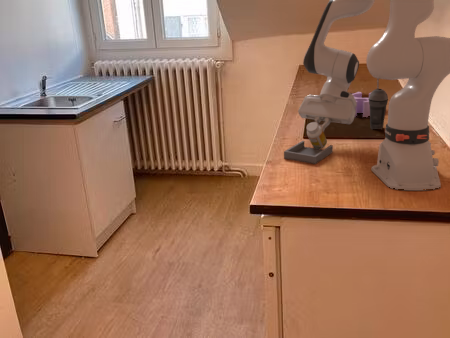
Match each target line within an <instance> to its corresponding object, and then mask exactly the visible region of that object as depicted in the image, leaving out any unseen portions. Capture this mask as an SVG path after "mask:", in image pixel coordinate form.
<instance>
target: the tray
mask: <svg viewBox="0 0 450 338" xmlns="http://www.w3.org/2000/svg"><path fill="white" fill-rule="evenodd" d="M333 148H334V146H333V145H332V144H330V145H329V146H327V147H324V148H322V149H316V148H314V147H309V146H305V140H302V141H300V142H298V143H296V144H295V145H292V146H291V147H289V148H288V149H285V150H284V151H283V159H287V160H291V161H297V162H302V163H308V164H313V165H317V164H318V163H319V162H320V161H322V160H324V159H325V158H326V157H328V156H330V154H332V153H333V152H334V151H333Z"/></svg>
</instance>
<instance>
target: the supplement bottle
mask: <svg viewBox="0 0 450 338" xmlns="http://www.w3.org/2000/svg"><path fill="white" fill-rule="evenodd" d="M306 136H307V138H308V139H309V141H310V144H311V146H312V148H316V149H322V150H323V149H324V148H326V147H325V146H326V145H327V144H328V141H327V138H326V134H325V132H323V130H322V128H321V127H320V126H318V124H317V123H316V122H315V121H312V122H310V123H308V124H307V125H306Z"/></svg>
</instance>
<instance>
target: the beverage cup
mask: <svg viewBox="0 0 450 338" xmlns="http://www.w3.org/2000/svg"><path fill="white" fill-rule="evenodd" d="M376 80H377V81H376V83H377V85H376V89H374V90H372V91H371V92H370V93H371V94H370V96H369V95H368V98H369V99H368V100H369V105H370V117H369V124H370V129H371V130H373V129H381V130H383V129H382V128H383V126H384V123H385V118H386V117H385V116H386V111H387V105H388V103H389V102H388V101H389V96H388V93H387V92H386V90H384V89H381V88H379V86H380V85H379V78H376Z"/></svg>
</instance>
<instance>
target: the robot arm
mask: <svg viewBox="0 0 450 338" xmlns="http://www.w3.org/2000/svg"><path fill="white" fill-rule="evenodd" d="M375 1H376V0H329V1H328V3H327V4H326V6H325V7H324V10H323V12H322V15H321V18H320V19H319V22H318V25H317V27H316V30H315V32H314V34H313V37H312V38H311V42H310V44H309V47H308V48H307V50H306V52H305V54H304V55H303V61H302V64H303V66H304V68H305V70H306V71H307V72H308V73H309V74H315V75H322V76H324V77H326V81H324V84H323V85H322V88H321V90H320V93H319V94H309V95H307V96H304V97H303V101H302V103H300V106H299V108H298V110H297V113H298V115H299V116H300V118H302V119H309V120H314V122H316V123H317V124H318V126H320V127H321V128H322V130H323V133H325V130H326V128H327V127H329V125H331V123H338V124H346V125H351V124H352V123H353V122H354V119H355V117H354V116H355V112H356V110H355V107H356V105H357V103H356V100H355V98H354V96H353V95H352V94H353V93H351V92H348V91H347V89H348V87H349V88H350V85H351V84H352V82H353V81H354V80H355V78H356V75H357V73H358V71H359V67H360V61H359V59H358V57H357V55H356V54H355V53H353V52H351V51H347V50H343V49H337V48H334V47H329V46H327V45H325V41H326V39H327V38H328V35H329V32H330V30H331V28H332V25H333V23H334V22H336V21H338V20H340V19H344V18H353V17H357V16H360V15H363V14H364V13H366V12H368V11H369V10H371V8H372V7H373V6H374V4H375ZM434 8H435V3H434V0H389V17H388V21H387V25H386V27H385V30H384V32H383V33H382V35H381V36H380V38H379V39H378V40H377V41H376V42H374V44H372V46H371V47H370V49H369V50H368V52H367V55H366V60H365V61H366V67H367V70H368V72H369V74H370V75H371V76H372V77H373V78H374V79H377V78H379V79H380V80H388V81H396V80H407V79H408V80H407V82H406V84H405V85H404V86H403V87H402V88H401V89H399V90H398V91H396V92H394V94H393V95H392V96H391V98H389V100H388V101H389V102H388V113H387V122H386V124H385V128H384V136H385V138H384V139H383V140H382V141H381V142H380V143H379V146H378V151H377V152H378V153H377V163H376V164H374V165H372V166H371V171H372V172H373V174H374V175H375V176H377V178H378V179H380V181H382V182H383V183H384V184H385V185H386V186H387V187H388V188H389V187H390V189H393V188H395V189H394V190H398V189H404V190H403V191H427V190H426V189H433V190H436V189H435V188H438V189H440V188H441V185H442V183H441V179H440V177H439V173H438V169H437V167H438V166H439V161H440V160H439V158H438V157H434V158H433V156H434V155H436V154H435V152H436V151H435V150H433V149H432V142H431V141H430V133H431V131H430V126H429V118H430V117H429V116H430V110H431V105H432V101H433V98H434V95H435V93H436V91H437V90H438V88H439V86H440V85H441V83H443V81H444V80H445V78H447V77H448V76H449V75H450V37H446V36H445V37H444V36H439V35H437V36H436V35H435V36H423V37H415V33H416V29H417V27H418V26H419V25H420V24H422V23H423V22H425V21H426V20H427V19H429V18H430V16H431V15H432V14H433V11H434ZM348 90H349V89H348ZM321 121H323V124H320V123H321ZM439 187H440V188H439ZM423 189H425V190H423Z"/></svg>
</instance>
